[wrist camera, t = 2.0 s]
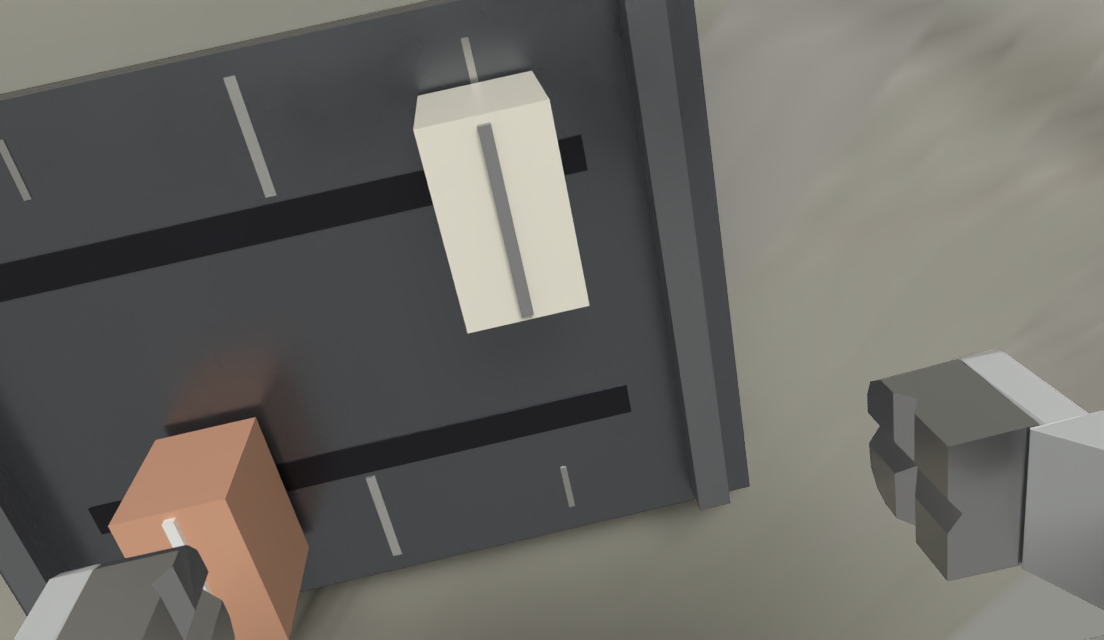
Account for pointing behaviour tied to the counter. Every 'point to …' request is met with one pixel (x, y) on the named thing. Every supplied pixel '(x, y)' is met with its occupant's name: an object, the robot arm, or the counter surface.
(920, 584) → the counter surface
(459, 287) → the cream fader
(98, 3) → the counter surface
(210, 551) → the light orange-brown fader
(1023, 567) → the robot arm
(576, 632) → the counter surface
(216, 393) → the console
